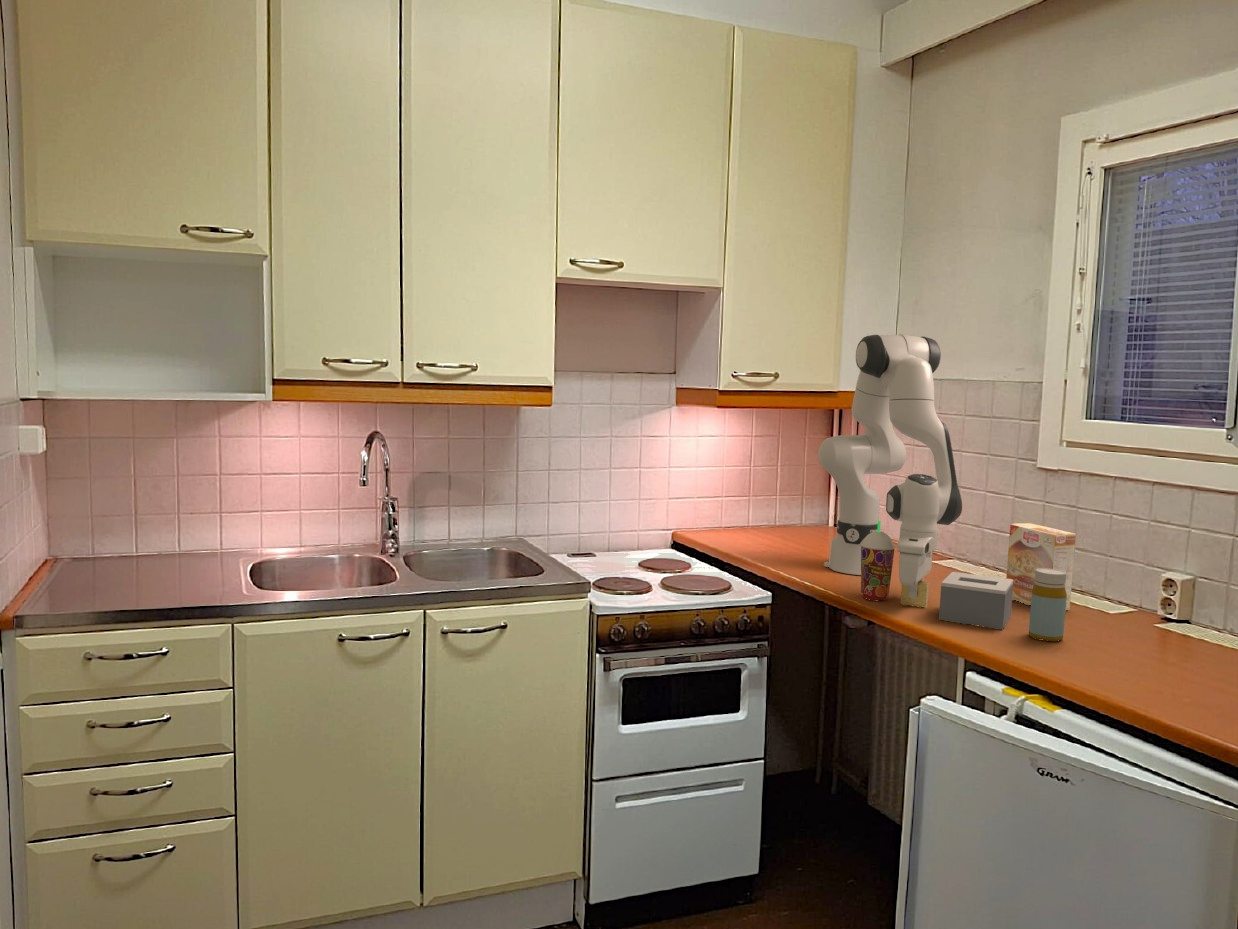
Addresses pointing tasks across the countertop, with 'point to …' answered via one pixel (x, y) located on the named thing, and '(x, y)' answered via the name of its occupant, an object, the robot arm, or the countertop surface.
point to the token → (921, 595)
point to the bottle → (1048, 605)
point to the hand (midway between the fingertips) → (914, 596)
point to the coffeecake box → (1038, 557)
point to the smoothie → (876, 565)
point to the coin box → (976, 600)
